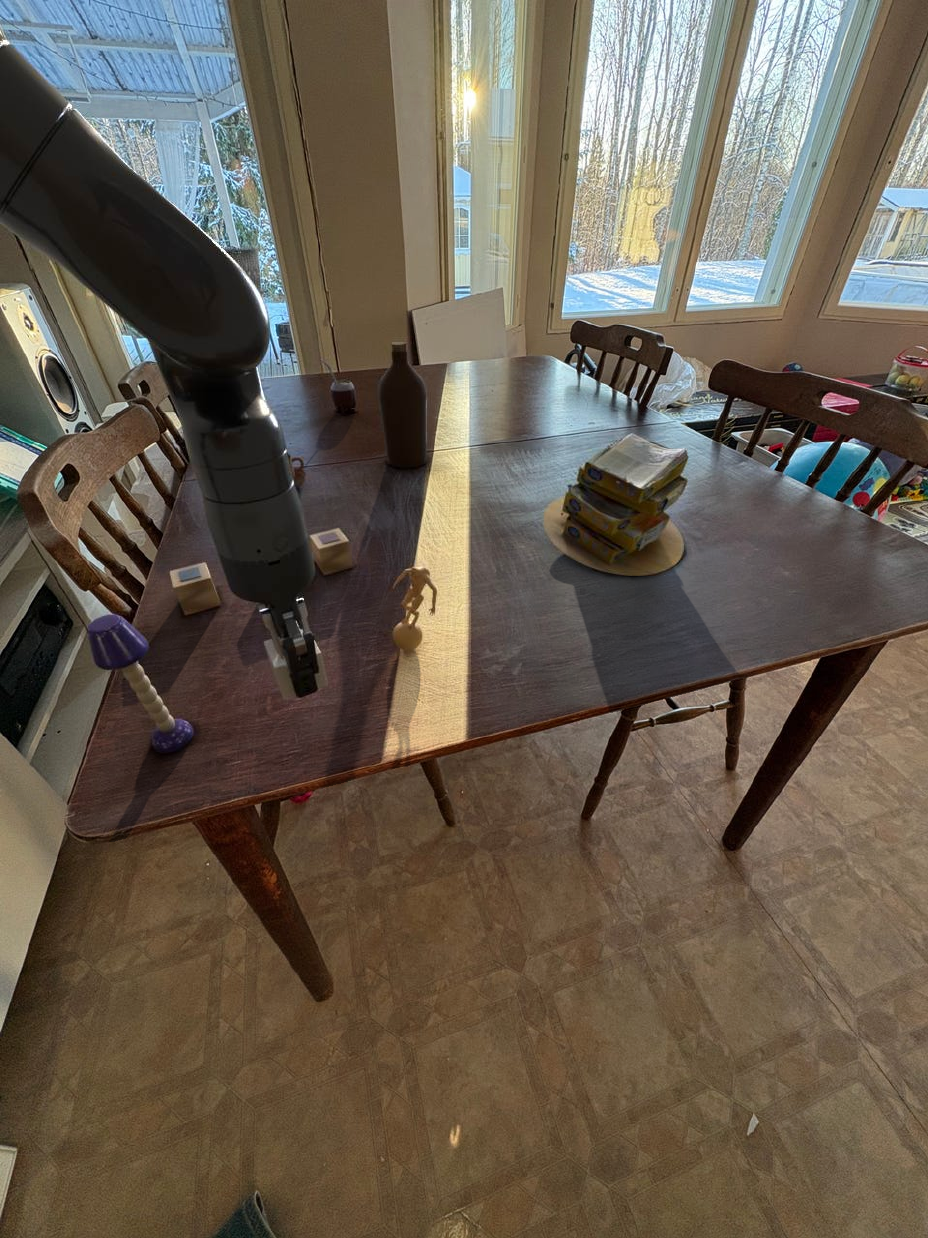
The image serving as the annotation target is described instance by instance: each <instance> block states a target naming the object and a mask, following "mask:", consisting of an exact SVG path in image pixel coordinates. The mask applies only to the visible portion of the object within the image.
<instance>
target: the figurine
mask: <svg viewBox="0 0 928 1238" xmlns="http://www.w3.org/2000/svg"><path fill="white" fill-rule="evenodd" d="M406 574H408V575H409V578H410V579H409V582H410V586H411V587H409V588H408V589H407V593H406V595H405V597H404V599H403V600H402V601H401V606H402V608H403V609H405V610H406V611H408V612H407V615H405V618H403V619H402V620H401V622H399V623H397V624H396V626H395V627H394V629H393V631H392V641H393V643H394V644H395V646H396V647H397V648H399V649H401V651H402V650H403V651H413V650H416V648H417V649H418V647H419V646H420V645H421V644H422V641H423V636H424V635H423V630H422V628H421V626H420V625H419V624H418V623H417V622H418V619H419V616H420V611H419V608H420V606H421V605H422V603H423V602H424V600H425V596H424V595H423V594H422V593H423V590H424V588H425V587H426V585H427V586H428V587H429V589H430V590H431V591H432V598H431V608H429V610H428V612H430V613H429V616H434V615H435V613H436V603H437V595H438V590H437V587H436V586H435V585H434V583H433V581H432V579H431V578H430V576H431V572H430V569H429V568H428V567H427V566H422V565H421V566H418V567H416V566H412V567H411V568H406V569H404V570H403V571H402V573H401V574H400V575H399V576H398V577H397V578H396V580H395V582H394V584H393V586H392V589H394V588H395V587H396V585H397V584H398V583H399V582H400V581H401V580H402V579H403V578H405V576H406ZM410 603H411V604H410ZM412 615H413V616H414V618H413V620H410V618H411V616H412Z"/></svg>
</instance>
